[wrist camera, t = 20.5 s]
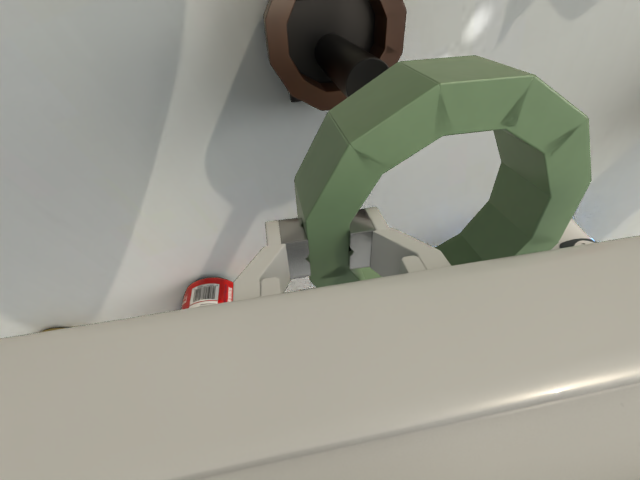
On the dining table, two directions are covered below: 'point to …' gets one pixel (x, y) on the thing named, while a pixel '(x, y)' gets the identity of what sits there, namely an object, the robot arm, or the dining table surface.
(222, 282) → the soda can
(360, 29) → the rack post
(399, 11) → the walnut ring
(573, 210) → the green ring
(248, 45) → the dining table surface
